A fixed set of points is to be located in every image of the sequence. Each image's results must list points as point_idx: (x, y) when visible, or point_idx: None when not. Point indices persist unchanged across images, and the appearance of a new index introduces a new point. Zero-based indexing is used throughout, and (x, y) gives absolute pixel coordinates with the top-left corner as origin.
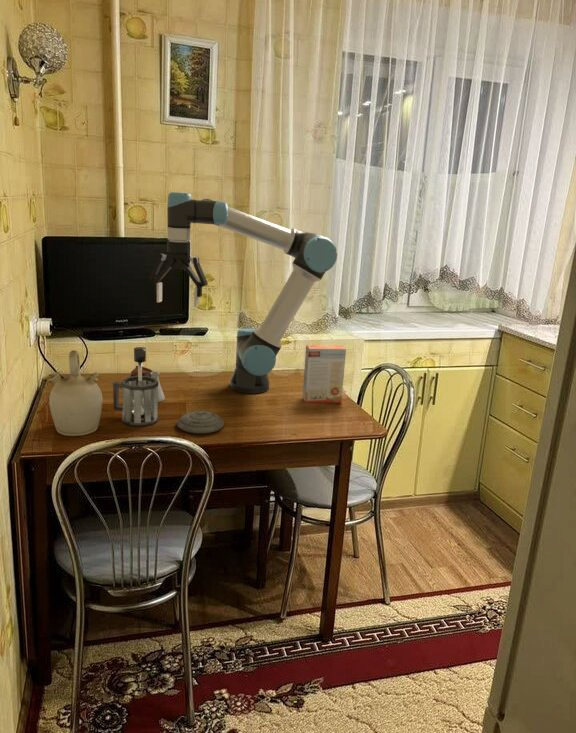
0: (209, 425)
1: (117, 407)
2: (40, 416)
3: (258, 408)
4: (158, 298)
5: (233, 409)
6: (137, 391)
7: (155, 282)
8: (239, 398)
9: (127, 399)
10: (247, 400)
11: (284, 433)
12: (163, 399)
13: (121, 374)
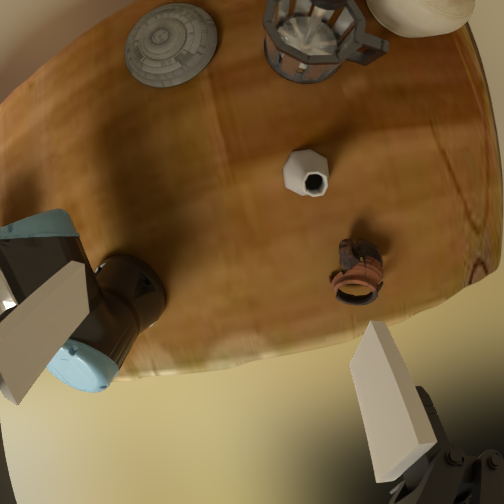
0: (143, 18)
1: (359, 52)
2: (472, 64)
3: (85, 177)
4: (381, 340)
5: (124, 156)
6: None
7: (449, 447)
8: (128, 223)
9: None
10: (112, 216)
11: (41, 81)
12: (283, 166)
13: (398, 310)
